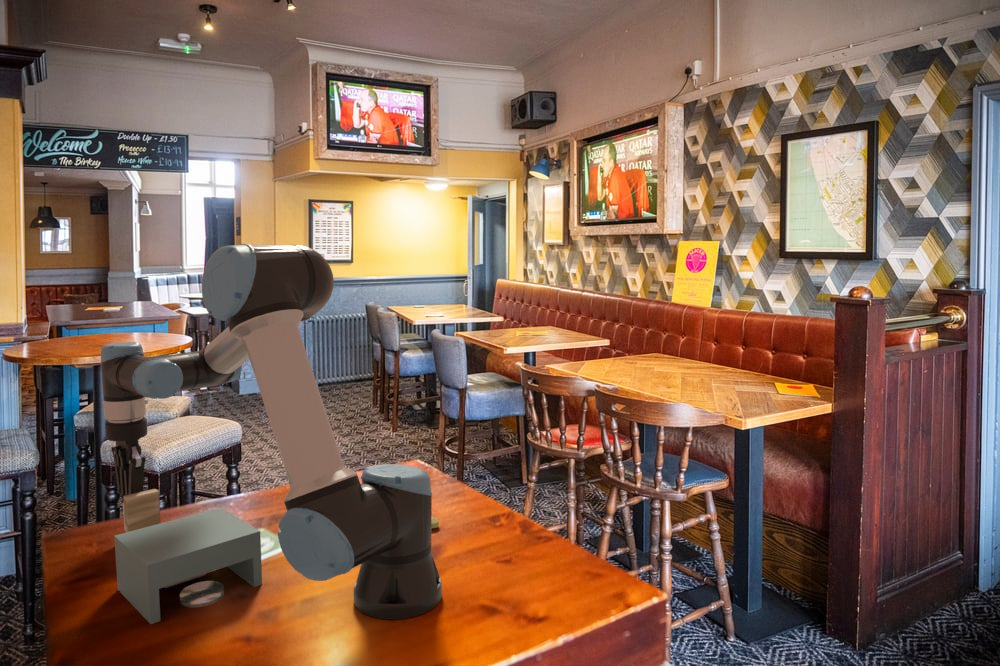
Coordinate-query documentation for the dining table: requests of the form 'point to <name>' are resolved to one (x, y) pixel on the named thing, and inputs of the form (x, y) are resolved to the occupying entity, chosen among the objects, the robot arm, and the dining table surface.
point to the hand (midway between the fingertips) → (132, 529)
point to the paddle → (143, 513)
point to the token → (201, 594)
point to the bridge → (184, 555)
